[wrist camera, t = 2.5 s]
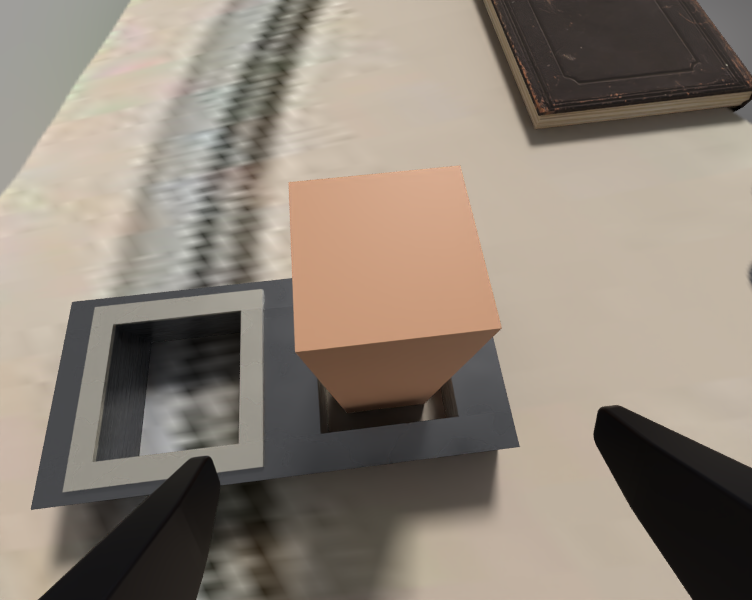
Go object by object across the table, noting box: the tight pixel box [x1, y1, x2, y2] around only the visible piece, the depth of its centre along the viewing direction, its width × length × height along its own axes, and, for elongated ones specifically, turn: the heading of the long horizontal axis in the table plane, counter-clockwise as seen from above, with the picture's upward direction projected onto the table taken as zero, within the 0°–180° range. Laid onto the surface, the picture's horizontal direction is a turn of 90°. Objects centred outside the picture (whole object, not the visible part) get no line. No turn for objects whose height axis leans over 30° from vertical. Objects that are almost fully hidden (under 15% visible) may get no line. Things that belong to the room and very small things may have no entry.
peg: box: [289, 166, 502, 413], centre depth 14 cm, size 4×4×13 cm
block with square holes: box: [31, 278, 520, 510], centre depth 18 cm, size 20×9×3 cm, turn 97°
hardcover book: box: [483, 0, 752, 129], centre depth 30 cm, size 16×23×2 cm
